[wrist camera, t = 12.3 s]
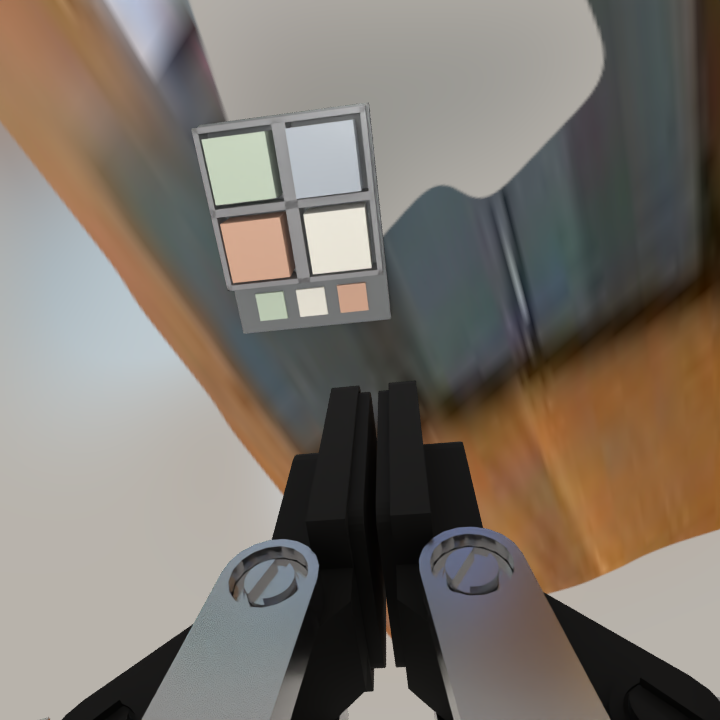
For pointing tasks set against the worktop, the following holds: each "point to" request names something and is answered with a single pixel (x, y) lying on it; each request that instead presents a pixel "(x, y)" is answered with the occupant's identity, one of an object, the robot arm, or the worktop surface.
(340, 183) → the slate key
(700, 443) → the worktop surface
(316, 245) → the ivory key
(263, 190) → the sage key
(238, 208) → the keypad board
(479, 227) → the worktop surface
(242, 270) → the terracotta key
